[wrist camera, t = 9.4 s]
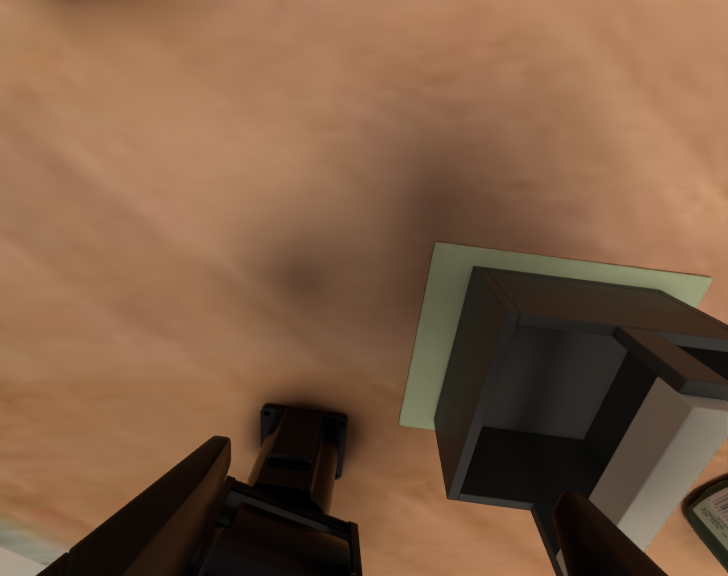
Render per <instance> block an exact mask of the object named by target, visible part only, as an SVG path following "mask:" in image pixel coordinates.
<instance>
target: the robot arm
mask: <svg viewBox="0 0 728 576" xmlns="http://www.w3.org/2000/svg"><path fill="white" fill-rule="evenodd" d="M267 411H269V412H267ZM260 421H261V450H260V452H259V454H258V457H257V459H256V462H255V464H254V466H253V469H252V471H251V474H250V476H249V478H248V481H247V483H246V484H245V483H242V482H239V481H237V480H235V479H236V478H234V477H231V476H228V475H227V472H228V469H229V466H230V462H231V442H230V438H228V437H224V436H213V437H212V438H210V439H209V440H208V441H206V442H205V443H204V444H203V445H201V446H200V447H199V448H198V449H196V450H195V451H194V452H192V453H191V454H190V455H189V456H187V457H186V458H185V459H184V460H182V461H181V462H180V463H179V464H177V465H176V466H175V467H173V468H172V469H171V470H170V471H168V472H167V473H166V474H165V475H163V476H162V477H161V478H160V479H158V480H157V481H156V482H154V483H153V484H152V485H151V486H149V487H148V488H147V489H146V490H144V491H143V492H142V493H140V494H139V495H138V496H137V497H135V498H134V499H133V500H132V501H130V502H129V503H128V504H127V505H125V506H124V507H123V508H121V509H120V510H119V511H118V512H116V513H115V514H114V515H113V516H111V517H110V518H109V519H108V520H106V521H105V522H104V523H102V524H101V525H100V526H99V527H97V528H96V529H95V530H94V531H92V532H91V533H90V534H89V535H87V536H86V537H85V538H83V539H82V540H81V541H80V542H78V543H77V544H76V545H75V546H73V547H72V548H71V549H70V550H69V553H68V552H66V553H64V554H63V555H62V556H60V557H59V558H58V559H57V560H55V561H54V562H53V563H52V564H50V565H49V566H48V567H46V568H45V569H44V570H43V571H41V572H40V573H39V574H37V575H36V576H362V565H361V555H360V544H359V534H358V524H356V523H353V522H351V521H349V522H346V521H343V520H341V519H338V518H335V517H333V516H330V515H329V512H330V505H331V499H332V492H333V486H334V480H337V479H339V478H340V477H341V473H342V465H343V457H344V449H345V441H346V433H347V425H348V418H347V416H345V415H343V414H337V413H329V412H322V411H314V410H307V409H299V408H292V407H285V406H277V405H270V404H266V405H264V406H263V407H262V409H261V412H260ZM340 421H343V422H340ZM226 475H227V477H226ZM225 477H226V479H225ZM224 480H225V481H224ZM553 521H554V525H555V529H556V533H557V537H558V540H559V544H560V548H561V552H562V556H563V560H564V563H565V567H566V571H567V575H568V576H668V575H667V574H666V573H665V572H664V571H663V570H662V569H661V568H660V567H659V566H658V565H657V564H656V563H655V562H653V561H652V560H651V559H650V558H649V557H648V556H647V555H646V554H645V553H644V552H643V551H642V550H641V549H640V548H639V547H638V546H637V545H636V544H635V543H634V542H633V541H632V540H631V539H630V538H629V537H628V536H626V535H625V534H624V533H623V532H622V531H621V530H620V529H619V528H618V527H617V526H616V525H615V524H614V523H613V522H612V521H611V520H610V519H609V518H608V517H607V516H606V515H605V514H604V513H603V512H602V511H601V510H599V509H598V508H597V507H596V506H595V505H594V504H593V503H592V502H591V501H590V500H589V499H588V498H587V497H586V496H585V495H584V494H582V493H581V492H578V491H571V490H565V491H563V492H562V494H561V495H560V497H559V499H558V501H557V503H556V504H555V506H554V508H553Z"/></svg>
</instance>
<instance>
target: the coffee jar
mask: <svg viewBox="0 0 728 576" xmlns="http://www.w3.org/2000/svg"><path fill="white" fill-rule="evenodd" d="M687 516H688V521H689V523H690V525H691V527H692V528H693V530H694V531H695V532H696V534H697V535H698V536H699V538H700V539H701V540H702V541H703V542H704V544H705V545H706V546H707V547H708V549H709V550H710V551H711V552H712V554H713V555H714V556H715V557H716V559H717V560H718V561H719V562H720V564H721V565H722V566H723V567H724V569H725V570H726V571H727V572H728V479H727V480H724V481H722V482H719V483H717V484H715V485H713V486H712V487H710V488H708V489H706V490H705V492H704V493H703V494H702V495H701V496H700V497H699V498H698V499H697V500H696V501H695V502H694V503H693V504H692V505H691V506H690V507H689V508H688V510H687Z"/></svg>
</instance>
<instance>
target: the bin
mask: <svg viewBox="0 0 728 576" xmlns="http://www.w3.org/2000/svg"><path fill="white" fill-rule="evenodd" d="M727 401H728V325H727V324H725V323H723V322H721V321H719V320H717V319H715V318H713V317H711V316H710V315H708V314H706V313H704V312H702V311H700V310H698V309H696V308H694V307H692V306H690V305H688V304H687V303H685V302H683V301H681V300H679V299H677V298H675V297H673V296H671V295H669V294H667V293H665V292H664V291H662V290H659V289H651V288H643V287H636V286H628V285H620V284H612V283H604V282H597V281H589V280H581V279H573V278H566V277H558V276H550V275H542V274H535V273H527V272H519V271H511V270H503V269H496V268H488V267H480V266H473V269H472V272H471V276H470V280H469V284H468V288H467V292H466V296H465V300H464V304H463V307H462V311H461V315H460V319H459V323H458V327H457V331H456V335H455V339H454V342H453V346H452V350H451V354H450V358H449V362H448V366H447V370H446V374H445V377H444V381H443V385H442V389H441V393H440V397H439V401H438V405H437V409H436V412H435V416H434V425H435V432H436V437H437V443H438V449H439V455H440V461H441V466H442V472H443V478H444V484H445V490H446V495H447V499H449V500H458V501H464V502H472V503H479V504H486V505H493V506H501V507H508V508H515V509H523V510H530V511H531V513H532V516H533V518H534V521H535V523H536V526H537V528H538V531H539V533H540V536H541V538H542V541H543V543H544V546H545V549H546V551H547V554H548V556H549V559H550V561H551V564H552V566H553V569H554V571H555V574H556V576H568V575H567V571H566V567H565V563H564V560H563V556H562V552H561V548H560V544H559V540H558V537H557V533H556V529H555V525H554V521H553V508H554V506H555V504H556V503H557V501H558V499H559V497H560V495H561V494H562V492H563V491H565V490H571V491H578V492H581V493H582V494H584V495H585V496H586V497H587V498H588V499H589V500H590V501H591V502H592V503H593V504H594V505H595V506H596V507H597V508H598V509H599V510H601V511H602V512H603V513H604V514H605V515H606V516H607V517H608V518H609V519H610V520H611V521H612V522H613V523H614V524H615V525H616V526H617V527H618V528H619V529H620V530H621V531H622V532H623V533H624V534H625V535H626V536H628V537H629V538H630V539H631V540H632V541H633V542H634V543H635V544H636V545H637V546H638V547H639V548H640V549H641V550H642V551H643V552H644V551H645V550H646V548H647V547H648V546H649V544H650V543H651V542H652V540H653V539H654V537H655V536H656V535H657V533H658V532H659V531H660V529H661V528H662V526H663V525H664V524H665V522H666V521H667V520H668V518H669V517H670V515H671V514H672V513H673V511H674V510H675V509H676V507H677V506H678V504H679V503H680V502H681V500H682V499H683V498H684V496H685V495H686V493H687V492H688V491H689V489H690V488H691V487H692V485H693V484H694V483H695V481H696V480H697V478H698V477H699V476H700V474H701V473H702V472H703V470H704V469H705V467H706V466H707V465H708V463H709V462H710V461H711V459H712V458H713V456H714V455H715V454H716V452H717V451H718V450H719V448H720V447H721V445H722V444H723V443H724V441H725V440H726V439H727V437H728V402H727Z"/></svg>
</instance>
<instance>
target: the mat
mask: <svg viewBox="0 0 728 576" xmlns="http://www.w3.org/2000/svg"><path fill="white" fill-rule="evenodd" d="M473 266H480V267H488V268H496V269H503V270H511V271H519V272H527V273H535V274H542V275H550V276H558V277H566V278H573V279H581V280H589V281H597V282H604V283H612V284H620V285H628V286H636V287H643V288H651V289H659V290H662V291H664V292H665V293H667V294H669V295H671V296H673V297H675V298H677V299H679V300H681V301H683V302H685V303H687V304H688V305H690V306H692V307H694V308H696V309H697V307H698V305H699V303H700V302H701V300H702V298H703V296H704V295H705V293H706V291H707V289H708V287H709V286H710V284H711V282H712V280H713V278H712V277H708V276H701V275H693V274H685V273H677V272H669V271H661V270H653V269H646V268H638V267H630V266H622V265H614V264H606V263H599V262H591V261H583V260H575V259H567V258H559V257H551V256H544V255H536V254H528V253H520V252H512V251H504V250H496V249H489V248H481V247H473V246H465V245H457V244H449V243H441V242H435V245H434V249H433V254H432V259H431V264H430V269H429V274H428V279H427V284H426V289H425V294H424V299H423V304H422V309H421V314H420V318H419V323H418V328H417V333H416V338H415V343H414V348H413V353H412V358H411V363H410V368H409V373H408V378H407V383H406V388H405V392H404V397H403V402H402V407H401V412H400V417H399V422H398V424H399V425H401V426H408V427H416V428H423V429H430V430H435V425H434V416H435V412H436V409H437V405H438V401H439V397H440V393H441V389H442V385H443V381H444V377H445V374H446V370H447V366H448V362H449V358H450V354H451V350H452V346H453V342H454V339H455V335H456V331H457V327H458V323H459V319H460V315H461V311H462V307H463V304H464V300H465V296H466V292H467V288H468V284H469V280H470V276H471V272H472V269H473Z"/></svg>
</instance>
